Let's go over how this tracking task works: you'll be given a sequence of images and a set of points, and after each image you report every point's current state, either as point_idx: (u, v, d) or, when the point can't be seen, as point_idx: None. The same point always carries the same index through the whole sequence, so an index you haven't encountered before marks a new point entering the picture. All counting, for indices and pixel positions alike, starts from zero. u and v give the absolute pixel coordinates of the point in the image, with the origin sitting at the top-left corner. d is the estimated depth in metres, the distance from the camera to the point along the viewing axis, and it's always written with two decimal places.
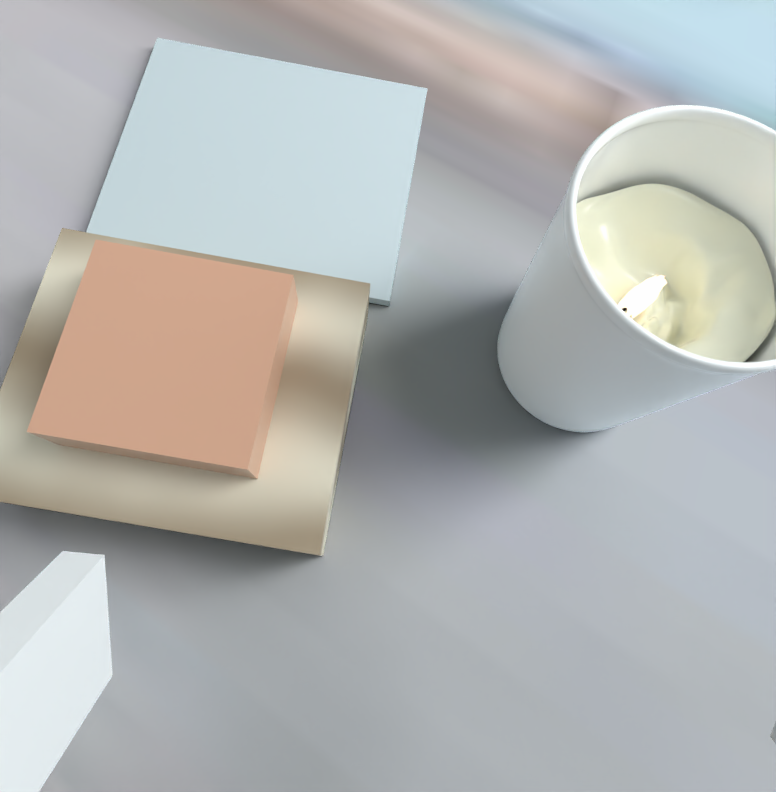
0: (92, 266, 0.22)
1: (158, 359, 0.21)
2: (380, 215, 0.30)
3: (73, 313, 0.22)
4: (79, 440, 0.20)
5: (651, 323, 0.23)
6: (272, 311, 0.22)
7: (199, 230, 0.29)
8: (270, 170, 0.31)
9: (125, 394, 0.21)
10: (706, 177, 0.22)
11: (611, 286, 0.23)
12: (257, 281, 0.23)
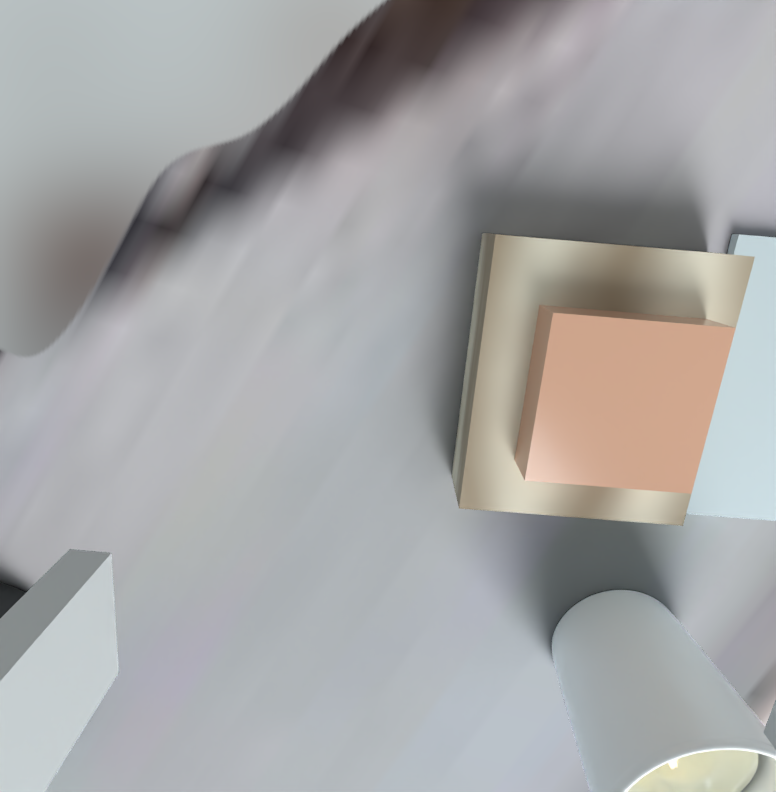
0: (707, 330, 0.24)
1: (616, 401, 0.25)
2: (754, 499, 0.33)
3: (660, 325, 0.24)
4: (546, 354, 0.25)
5: None
6: (657, 481, 0.27)
7: (749, 343, 0.30)
8: None
9: (585, 382, 0.25)
10: None
11: None
12: (686, 467, 0.26)
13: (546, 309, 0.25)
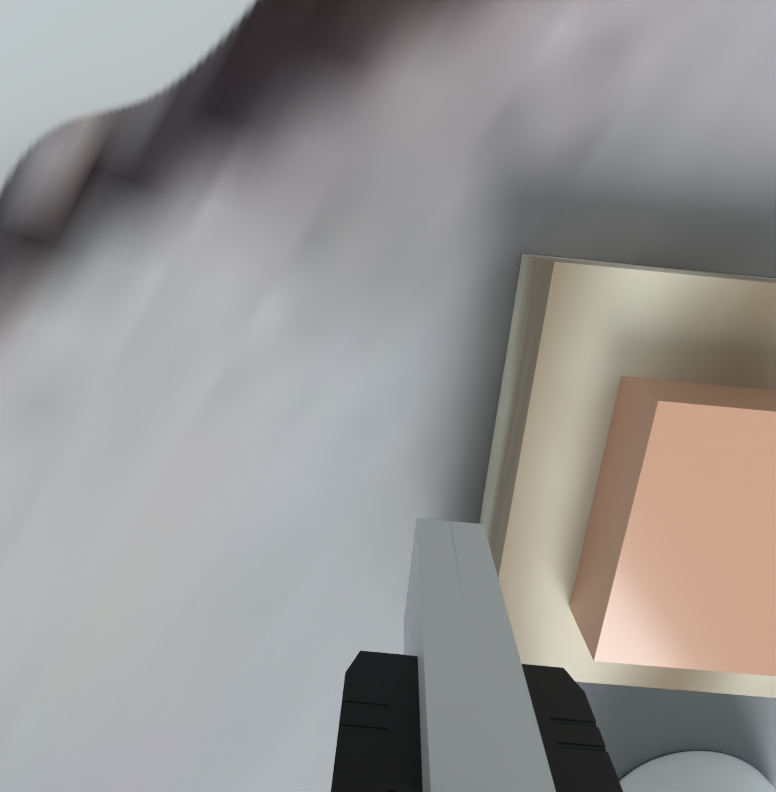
0: None
1: (754, 544, 0.15)
2: None
3: None
4: (641, 468, 0.15)
5: None
6: None
7: None
8: None
9: (704, 513, 0.15)
10: None
11: None
12: None
13: (639, 389, 0.15)
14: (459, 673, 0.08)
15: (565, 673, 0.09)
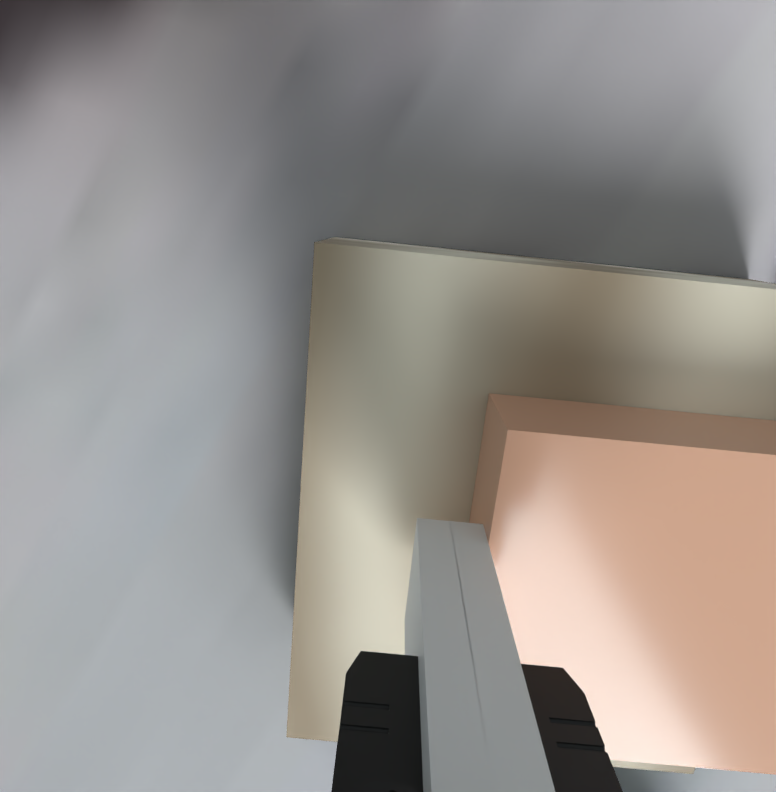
0: None
1: (643, 609, 0.12)
2: None
3: (748, 459, 0.11)
4: (493, 514, 0.11)
5: None
6: (723, 754, 0.13)
7: None
8: None
9: (578, 570, 0.12)
10: None
11: None
12: None
13: (498, 412, 0.12)
14: (459, 673, 0.08)
15: (565, 673, 0.09)
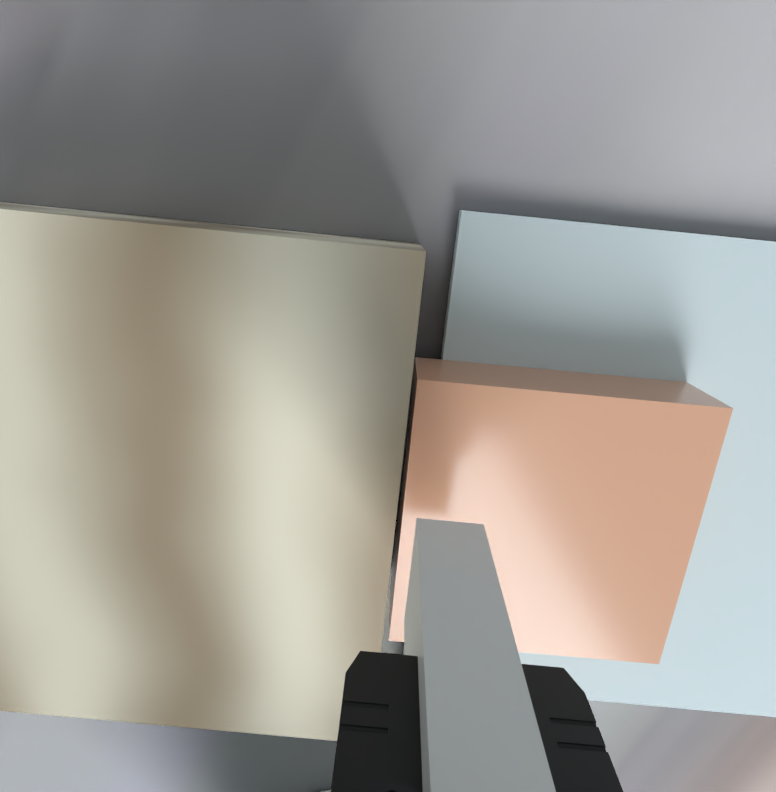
0: (684, 412, 0.14)
1: (532, 524, 0.15)
2: None
3: (603, 402, 0.14)
4: (410, 447, 0.15)
5: None
6: (604, 646, 0.16)
7: None
8: None
9: (478, 493, 0.15)
10: None
11: None
12: (650, 624, 0.16)
13: (416, 369, 0.15)
14: (459, 673, 0.08)
15: (566, 673, 0.09)
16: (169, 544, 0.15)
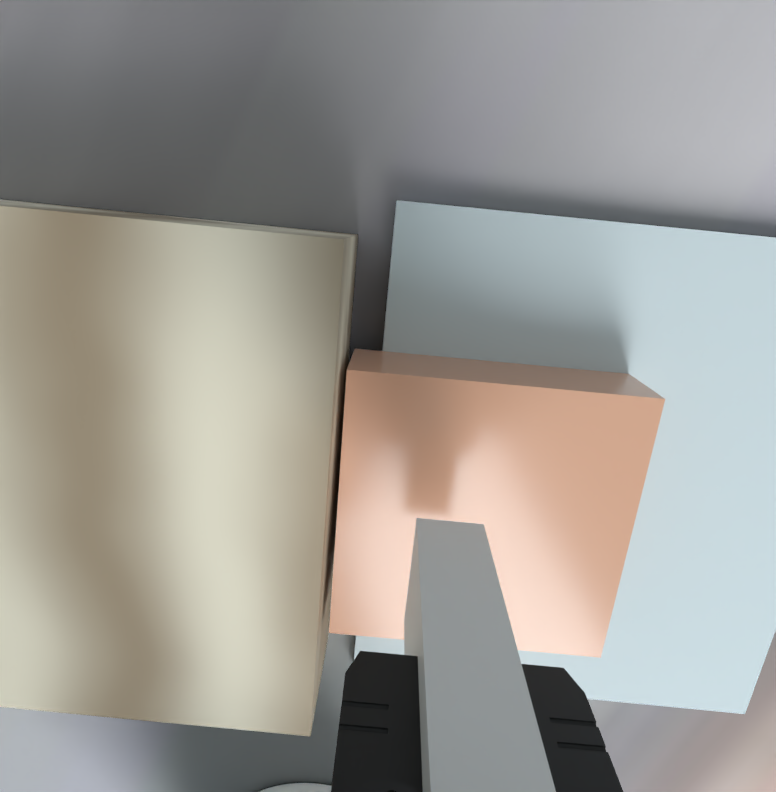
0: (615, 403, 0.14)
1: (467, 515, 0.15)
2: None
3: (534, 392, 0.14)
4: (342, 438, 0.15)
5: None
6: (544, 639, 0.16)
7: None
8: None
9: (412, 483, 0.15)
10: None
11: None
12: (590, 617, 0.16)
13: (351, 359, 0.15)
14: (459, 673, 0.08)
15: (565, 673, 0.09)
16: (100, 535, 0.15)
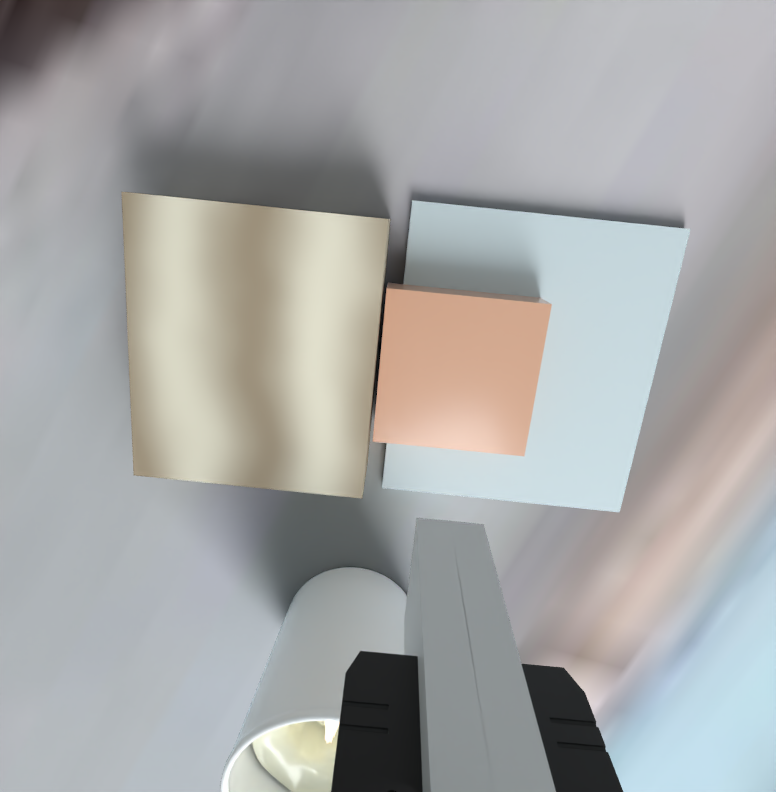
0: (526, 306, 0.27)
1: (449, 370, 0.28)
2: (468, 476, 0.33)
3: (484, 300, 0.27)
4: (383, 326, 0.28)
5: None
6: (492, 444, 0.29)
7: None
8: None
9: (420, 352, 0.28)
10: None
11: None
12: (517, 431, 0.29)
13: (387, 286, 0.28)
14: (459, 673, 0.08)
15: (566, 673, 0.09)
16: (255, 376, 0.28)
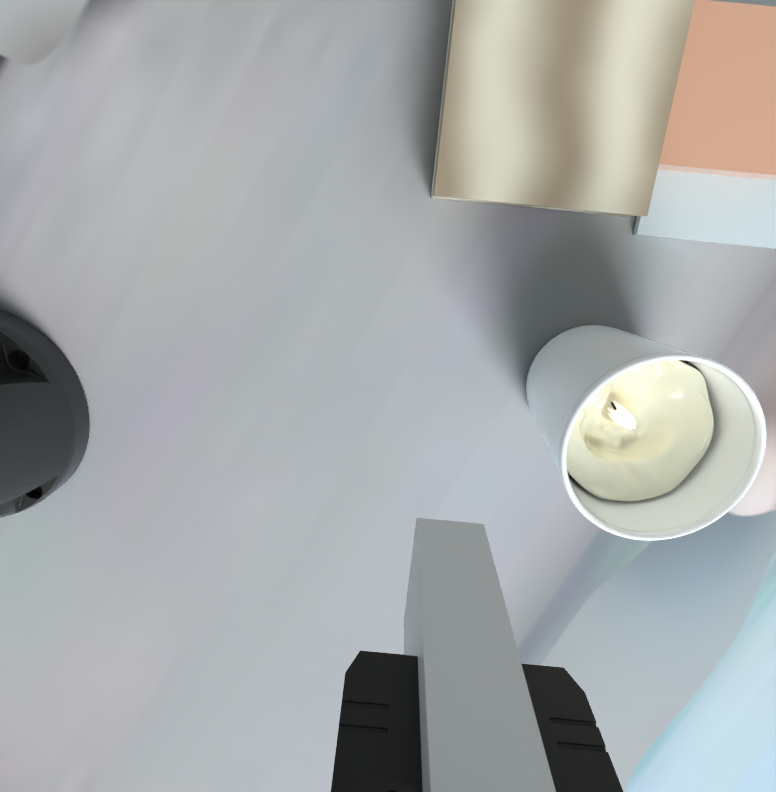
0: None
1: (739, 85, 0.30)
2: (720, 220, 0.35)
3: None
4: None
5: (603, 426, 0.33)
6: (769, 165, 0.32)
7: None
8: None
9: (713, 66, 0.30)
10: (714, 464, 0.30)
11: (633, 400, 0.32)
12: None
13: None
14: (459, 673, 0.08)
15: (566, 673, 0.09)
16: (565, 85, 0.30)
